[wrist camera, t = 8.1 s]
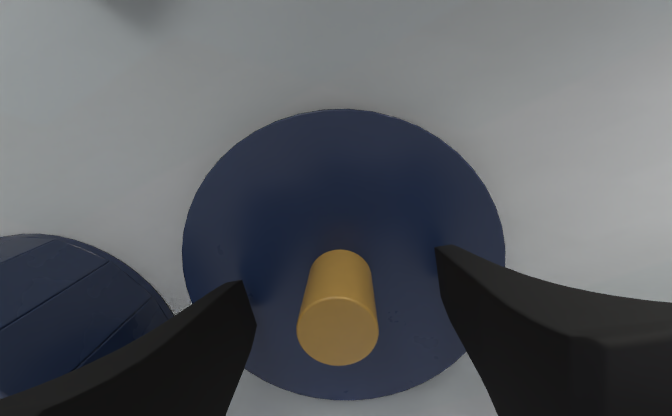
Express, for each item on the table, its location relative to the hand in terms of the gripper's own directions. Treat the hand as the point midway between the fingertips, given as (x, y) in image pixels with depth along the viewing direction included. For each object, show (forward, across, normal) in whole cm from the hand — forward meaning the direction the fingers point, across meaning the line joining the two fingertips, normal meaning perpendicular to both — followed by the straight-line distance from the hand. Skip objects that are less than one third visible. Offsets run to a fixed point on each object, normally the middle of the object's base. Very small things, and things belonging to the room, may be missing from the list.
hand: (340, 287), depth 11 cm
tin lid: (+1, 0, 0) cm, 1 cm away
